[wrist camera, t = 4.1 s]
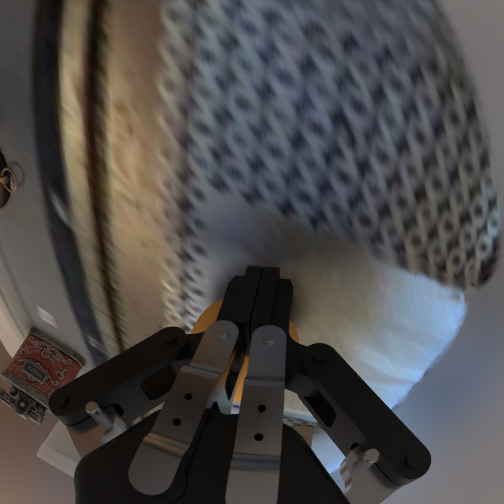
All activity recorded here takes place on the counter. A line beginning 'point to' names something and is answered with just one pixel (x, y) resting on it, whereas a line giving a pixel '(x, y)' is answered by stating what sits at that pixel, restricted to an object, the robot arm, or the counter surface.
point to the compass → (5, 183)
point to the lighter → (38, 374)
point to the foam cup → (60, 450)
